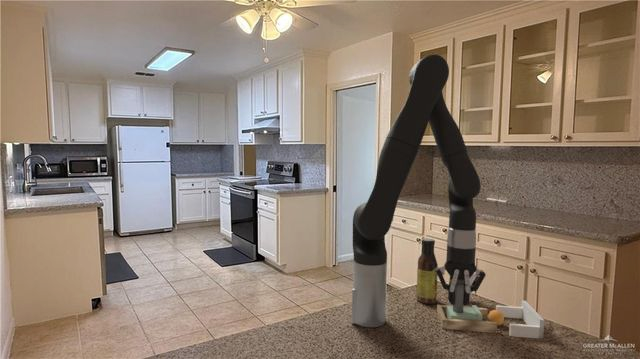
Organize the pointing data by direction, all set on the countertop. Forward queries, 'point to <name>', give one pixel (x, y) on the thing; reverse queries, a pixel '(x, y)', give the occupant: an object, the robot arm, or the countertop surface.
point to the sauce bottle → (427, 273)
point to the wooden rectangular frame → (466, 321)
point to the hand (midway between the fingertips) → (458, 304)
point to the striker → (462, 305)
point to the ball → (496, 317)
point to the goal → (528, 315)
